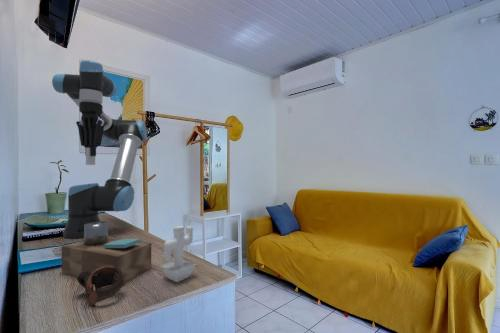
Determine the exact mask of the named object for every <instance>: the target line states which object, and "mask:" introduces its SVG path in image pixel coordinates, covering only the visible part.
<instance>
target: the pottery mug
mask: <svg viewBox="0 0 500 333" xmlns="http://www.w3.org/2000/svg"><path fill="white" fill-rule="evenodd" d="M115 273H118V275H119V278H118V279H116V278H114V274H115ZM96 274H98V275H96ZM95 275H96V276H95ZM123 277H124V274H123V273H122V271H121V270H120V269H119V268H117V267H114V266H103V267H100V268H97V269H96V270H94V271H93V272H90V271H82V272H81V273H80V274H79V275H78V277H76V279H77V282H78V283H79V284H80V285H81V287H83V288H84V289H85V293H88V295H89V297H88V300H87V302H88V304H89V305H91V306H95V305H96V304H97V303H99V302H102V301H105V300H107V299H109V298H111V297H114V296H115V295H116V293H119V291H120V290H121V289H122V287H125V286H126V282H124V280H123V279H122V278H123ZM107 286H108V287H107Z"/></svg>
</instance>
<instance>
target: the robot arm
mask: <svg viewBox="0 0 500 333" xmlns="http://www.w3.org/2000/svg"><path fill="white" fill-rule="evenodd" d="M78 71H79V74H71V73H70V74H69V73H68V74H67V73H59V74H58V73H56V74H54V75H53V77H52V79H51V80H52V81H51V82H52V84H51V85H52V87H53V89H54V90H55V91H56V92H57V93H59V94H66V95H67V96H68V97H69V98H70V99H71V101H73V102H74V103H75V105H76V106H77V107H78V108H79V112H80V113H81V118H80V119H81V120H78V121H76V126H77V129H78V135H79V141H80V142H79V143H80V145H81V147H84V148H85V150H84V151H85V165H86V166H96V156H97V147H101V145H102V141H103V136H104V137H105V138H108V139H109V140H112V141H116V142H117V141H119V144H120V145H119V148H118V150H117V154H116V159H115V161H114V165H113V168H112V171H111V172H112V173H111V176H110V178H107V179H106V180H105V183H104V185H100V184H99V183H98V182H94V183H85V184H84V183H83V184H76V185H72V186H70V187H69V188H68V195H67V198H68V201H67V202H68V207H67V208H68V210H67V212H68V219H67V222H66V224H65V226H64V230H63V232H62V236H63V238H66V239H84V224H87V223H91V222H101V220H100V217H99V212H117V213H118V212H125V211H128V210H129V209H130V208H131V206H132V204H133V202H134V199H135V189H134V187H133V186H132V183H131V182H130V181H131V178H132V177H131V176H132V172H133V168H134V163H135V160H136V155H137V152H138V148H139V147H141V146H142V144H143V142H147V140H148V132H147V127H146V126H147V125H146V123H145V122H144V120H137V119H134V120H131V119H115V118H111V117H110V116H109V115H107V114H106V113H105V111H103V105H102V104H103V97H105V98H110V97H113V96H115V94H116V92H117V86H116V84H115V82H113V81H112V79H110V78H109V77H107V76H106V74H104V67H103V64H102V63H100V62H98V61H95V60H92V59H91V60H90V59H89V60H88V59H83V60H81V61H80V63H79V70H78Z"/></svg>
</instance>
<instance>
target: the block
mask: <svg viewBox="0 0 500 333" xmlns="http://www.w3.org/2000/svg"><path fill="white" fill-rule="evenodd" d="M120 239H122V238H120V237H113V236H108V242H107V243H105V244H108V243H111V242H114V241H117V240H120ZM105 244H102V245H97V246H85V245H84V239H82V240H79V241H76V242H73V243H69V244H66V245H62V246H61V274H63V275H67V276H73V277H76V278H78V275H79V274H80V273H81V272H82V271H90V272H93V271H94V270H96V269H97V268H100V267H103V266H114V267H117V268H119V269H120V270H121V271H122V273H123V274H124V277H123V278H122V279H123V280H124V282H125V283H126V282H128V281H130V280H131V279H133V278H136V277H137V276H139V275H141V274H143V273H145V272H146V271H148V270H151V269H152V242H147V241H141V242H140V243H137V244H134V245H132V246H129V247H126V248H104V245H105ZM96 275H98V274H96ZM96 275H95V276H96ZM114 278H116V279H118V278H119V275H118V273H115V274H114Z"/></svg>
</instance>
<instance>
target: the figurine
mask: <svg viewBox="0 0 500 333" xmlns="http://www.w3.org/2000/svg"><path fill="white" fill-rule="evenodd" d="M193 229H194V227H193V226H191V225H187V226H186V228H185V226H182V225H179V226H174V227H173V239H169V240H167V241H165V242H164V244H163V251H162V252H163V260H164V261H165V262H167V263H164V264H162V265H160V268H161V270H162V271H163V273H164V274H165V276H166V278H167V279H168V280H171V281H172V282H175V283H179V282H181V281H183V280H185V278H186V279H187V278H190V277H191V274H192V273H193V271H194V269H195V267H196V265H197V264H196V263H193V262H191V261H188V260H185V259H184V248H185V247H186V246H190V245H191V244H192V243H193V240H194V239H193V238H194V236H193V235H194V234H193V233H194V232H193V231H194V230H193ZM172 251H173V261H170V260H171V258H172V256H171V255H172ZM169 261H170V262H169Z"/></svg>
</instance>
